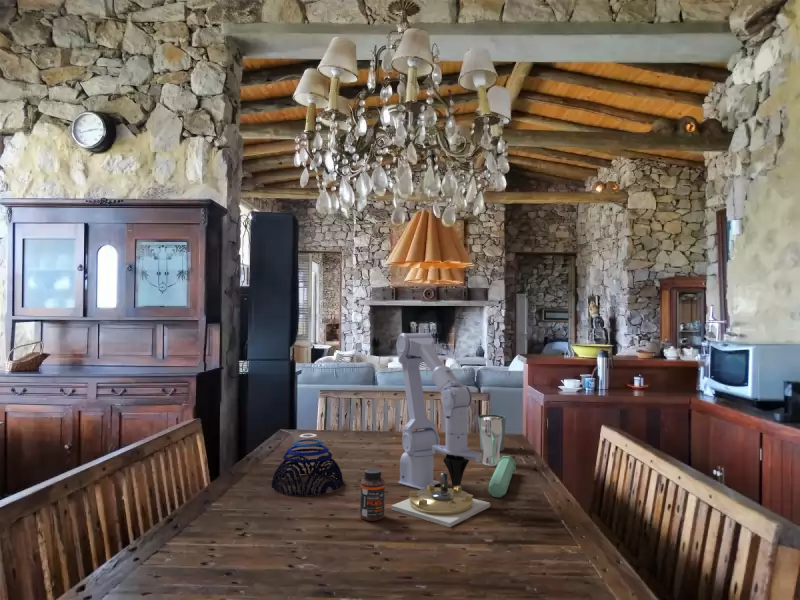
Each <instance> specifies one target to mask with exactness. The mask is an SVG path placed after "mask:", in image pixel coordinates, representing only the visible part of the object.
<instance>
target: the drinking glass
mask: <svg viewBox="0 0 800 600" xmlns="http://www.w3.org/2000/svg"><path fill="white" fill-rule="evenodd" d="M488 416H491V417H499V418H501V422H502V439H501V445H500V451H501V452H504V450H505V436H506V435H505V433H506V420H507V418H506V416H505V415H502V414H494V413H488V414H487V413H486V414H480V415H478V416H477V421H478V422H477V423H478V431H479V443H480V450H481V451H483V444H482V438H481V420H482V417H488Z"/></svg>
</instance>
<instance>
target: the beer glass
mask: <svg viewBox="0 0 800 600" xmlns="http://www.w3.org/2000/svg"><path fill="white" fill-rule="evenodd" d="M481 438H482V444H483V450H482V451H483V453H482V461H481V462H482V465H485V466H487V467H488V466H489V467H497V465H498V460H499V459H500V458H501V457H500V455H501V454H500V445H501V439H502V422H501V418H499V417H491V416H488V417H482V420H481Z"/></svg>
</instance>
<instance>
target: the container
mask: <svg viewBox="0 0 800 600" xmlns="http://www.w3.org/2000/svg"><path fill="white" fill-rule="evenodd" d="M516 465H517V463H516V461H515V460H514V459H513V457H511V456H509V455H508V456H506V455H503V456H501V457H500V459H499V460H498V465H497V466H495V467H496V468H495V470H494V472H493V474H492V476H491V478H490V481H489V482H488V493H489V494H490V495H491V496H492V497H494V498H503V496H505V495H506V494H507V491H508V488H509V485H510V483H511V479H512V476H513V473H514V472H515V471H516V468H517V466H516Z"/></svg>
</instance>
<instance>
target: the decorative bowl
mask: <svg viewBox="0 0 800 600" xmlns="http://www.w3.org/2000/svg"><path fill="white" fill-rule="evenodd" d="M298 437H299V438H301V439H299V440H296V441H294V442H293V443H292V446H290V447H288V448H287V450H286V452H285V453H284V455H283V457H282V460H283V459H284V460H283V461H282V462H281V463H280V464H279V465H278V467H277V468H276V470H275V471H274V474H273V476H272V480H271V489H272V488H274V490H277V491H278V489H280V491H281V493H283V494H282V495H284V494H289V496H290V495H313V496H318V495H317V494H321V495H324V494H323V493H325V494H327V493H326V492H327V490H328V489H329V488H330V489H331V491H332V490H333V492H334V490H335V491H337V490H339V489H340V488H342V487H343V484H344V478H343V474H342V471H341V468H340V466H339V465H338V463H337V462H336V460H335V459H333V458H332V456H333V454H332V453H331V452H330V449H329V448H328V447H327V446H325V445H324V442H323V441H322V440H321V439H317V438H316V437H318V434H316V433H315V434H314V433H302V434H300V435H298ZM306 441H307V442H315V443H303V444H302V443H300V442H306ZM312 447H313V448H312ZM315 447H318V448H315ZM298 448H299V449H298ZM326 453H327V455H325V454H326ZM288 455H290V456H289V457H288ZM315 456H319V457H317V458H310V459H309V458H307V457H315ZM312 463H313V465H312ZM301 464H302V465H301ZM307 465H308V466H309V467H308V466H307ZM304 469H305V470H304ZM301 474H305V475H306V474H309V475H307V478H306V480H305V482H304V484H303V481H302V478H301V477H302V476H300V475H301ZM315 474H318V475H315ZM294 475H295V476H296V477H295V476H294ZM321 475H322V476H321ZM328 476H331V477H328ZM289 477H290V478H289ZM312 477H313V479H312ZM323 477H325V478H323ZM334 477H335V478H334ZM282 478H286V481H287V482H286V481H285V479H284V480H283V479H282ZM336 478H337V479H336ZM290 479H291V480H292V482H291V480H290ZM278 481H279V482H282V483H283V484H280V483H279V482H278ZM292 483H293V484H292ZM309 484H310V486H309ZM293 485H294V487H293ZM284 486H285V488H284ZM288 486H289V487H288ZM341 486H342V487H341ZM308 487H309V488H308ZM338 488H339V489H338ZM319 489H320V490H319ZM336 489H337V490H336ZM274 490H273V491H274ZM285 490H286V492H285ZM299 491H300V493H299ZM290 492H291V493H290ZM315 494H316V495H315Z"/></svg>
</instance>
